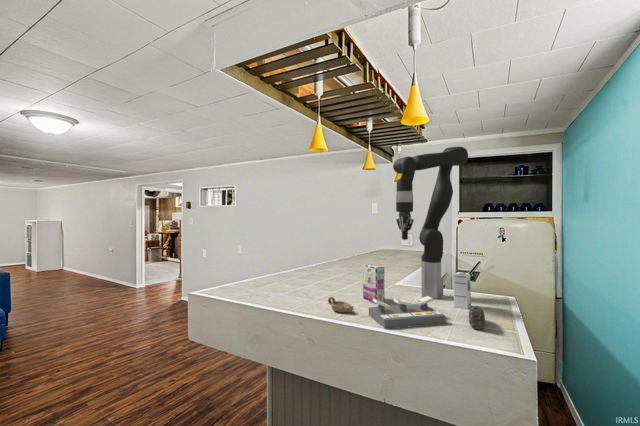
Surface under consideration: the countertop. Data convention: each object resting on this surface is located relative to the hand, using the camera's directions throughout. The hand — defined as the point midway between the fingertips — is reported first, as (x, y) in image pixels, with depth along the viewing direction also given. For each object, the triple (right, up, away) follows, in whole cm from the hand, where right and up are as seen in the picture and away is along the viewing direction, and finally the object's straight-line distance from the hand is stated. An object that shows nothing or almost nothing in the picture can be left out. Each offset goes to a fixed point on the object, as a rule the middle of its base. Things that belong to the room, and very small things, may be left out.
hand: (404, 239), depth 146 cm
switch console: (-6, -29, -22) cm, 37 cm away
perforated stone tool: (+19, -29, -29) cm, 45 cm away
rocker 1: (-15, -23, -22) cm, 35 cm away
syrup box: (+24, -29, -5) cm, 38 cm away
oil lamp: (-30, -30, -10) cm, 43 cm away
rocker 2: (+3, -23, -18) cm, 29 cm away
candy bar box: (-13, -29, +5) cm, 33 cm away
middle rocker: (-6, -23, -20) cm, 31 cm away
